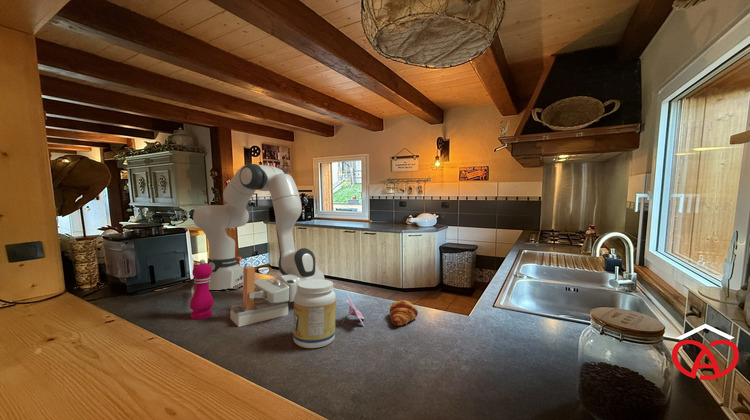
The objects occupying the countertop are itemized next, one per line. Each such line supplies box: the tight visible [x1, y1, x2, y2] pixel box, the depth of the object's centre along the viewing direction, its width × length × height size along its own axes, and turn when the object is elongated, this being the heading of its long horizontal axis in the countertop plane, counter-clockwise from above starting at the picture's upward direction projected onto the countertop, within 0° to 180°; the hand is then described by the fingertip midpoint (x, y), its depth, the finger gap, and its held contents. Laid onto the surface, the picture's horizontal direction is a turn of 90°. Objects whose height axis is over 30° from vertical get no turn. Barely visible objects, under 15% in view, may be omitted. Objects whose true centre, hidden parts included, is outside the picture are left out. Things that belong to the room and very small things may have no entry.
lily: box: [341, 291, 365, 327], centre depth 98 cm, size 12×12×10 cm
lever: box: [239, 265, 257, 312], centre depth 100 cm, size 4×6×15 cm, turn 42°
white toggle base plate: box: [229, 299, 289, 328], centre depth 103 cm, size 17×9×4 cm, turn 132°
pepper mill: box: [189, 259, 215, 320], centre depth 102 cm, size 7×7×20 cm
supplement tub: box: [292, 278, 337, 349], centre depth 86 cm, size 12×12×17 cm
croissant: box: [389, 299, 419, 326], centre depth 105 cm, size 21×10×8 cm, turn 162°
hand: (246, 293), depth 99 cm, fingers closed on lever, 4 cm apart
